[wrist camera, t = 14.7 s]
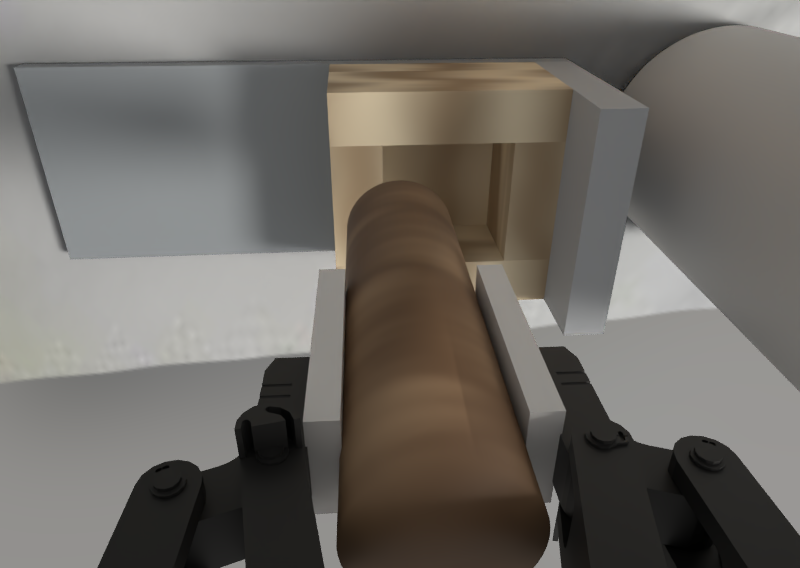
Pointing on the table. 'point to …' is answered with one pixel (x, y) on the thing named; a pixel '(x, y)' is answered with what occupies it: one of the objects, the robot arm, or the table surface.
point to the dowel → (426, 403)
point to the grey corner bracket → (286, 165)
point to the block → (457, 153)
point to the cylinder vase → (728, 177)
